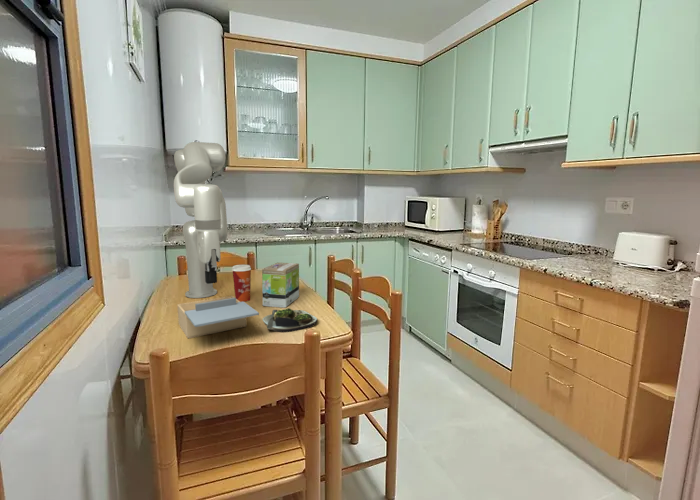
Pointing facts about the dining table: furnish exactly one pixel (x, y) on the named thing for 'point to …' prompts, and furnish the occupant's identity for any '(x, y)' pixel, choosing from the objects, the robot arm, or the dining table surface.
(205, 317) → the lid
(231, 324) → the box
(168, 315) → the dining table surface
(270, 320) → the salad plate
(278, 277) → the tea box
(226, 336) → the dining table surface
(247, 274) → the paper cup
